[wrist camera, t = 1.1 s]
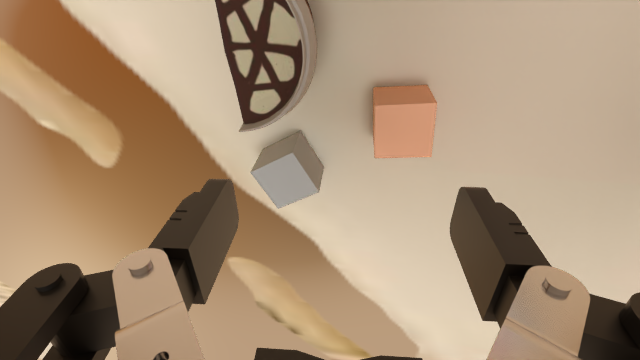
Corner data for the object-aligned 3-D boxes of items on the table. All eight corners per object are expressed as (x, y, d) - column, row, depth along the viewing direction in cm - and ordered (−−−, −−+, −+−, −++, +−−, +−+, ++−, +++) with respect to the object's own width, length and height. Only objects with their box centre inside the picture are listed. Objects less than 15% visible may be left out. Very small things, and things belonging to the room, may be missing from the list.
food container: (332, 91, 32) (321, 135, 24) (271, 94, 33) (240, 138, 25) (320, -65, 26) (300, -78, 17) (244, -55, 27) (191, -64, 18)
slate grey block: (300, 130, 35) (292, 152, 31) (323, 166, 37) (319, 192, 33) (263, 148, 37) (250, 172, 33) (287, 182, 39) (278, 208, 35)
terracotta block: (427, 84, 31) (437, 103, 27) (422, 133, 34) (431, 156, 30) (373, 87, 32) (374, 105, 28) (373, 134, 34) (374, 157, 30)
